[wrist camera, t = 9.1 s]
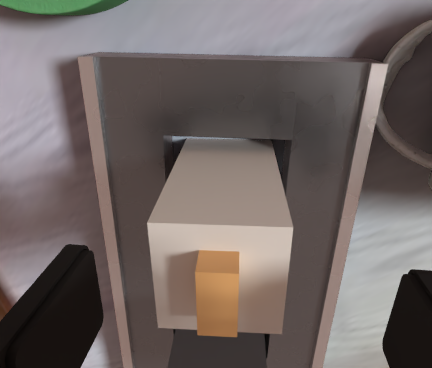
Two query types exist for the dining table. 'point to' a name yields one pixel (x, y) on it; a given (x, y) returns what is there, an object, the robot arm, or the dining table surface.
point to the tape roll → (61, 6)
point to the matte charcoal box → (217, 350)
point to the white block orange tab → (221, 240)
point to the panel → (231, 128)
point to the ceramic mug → (395, 61)
